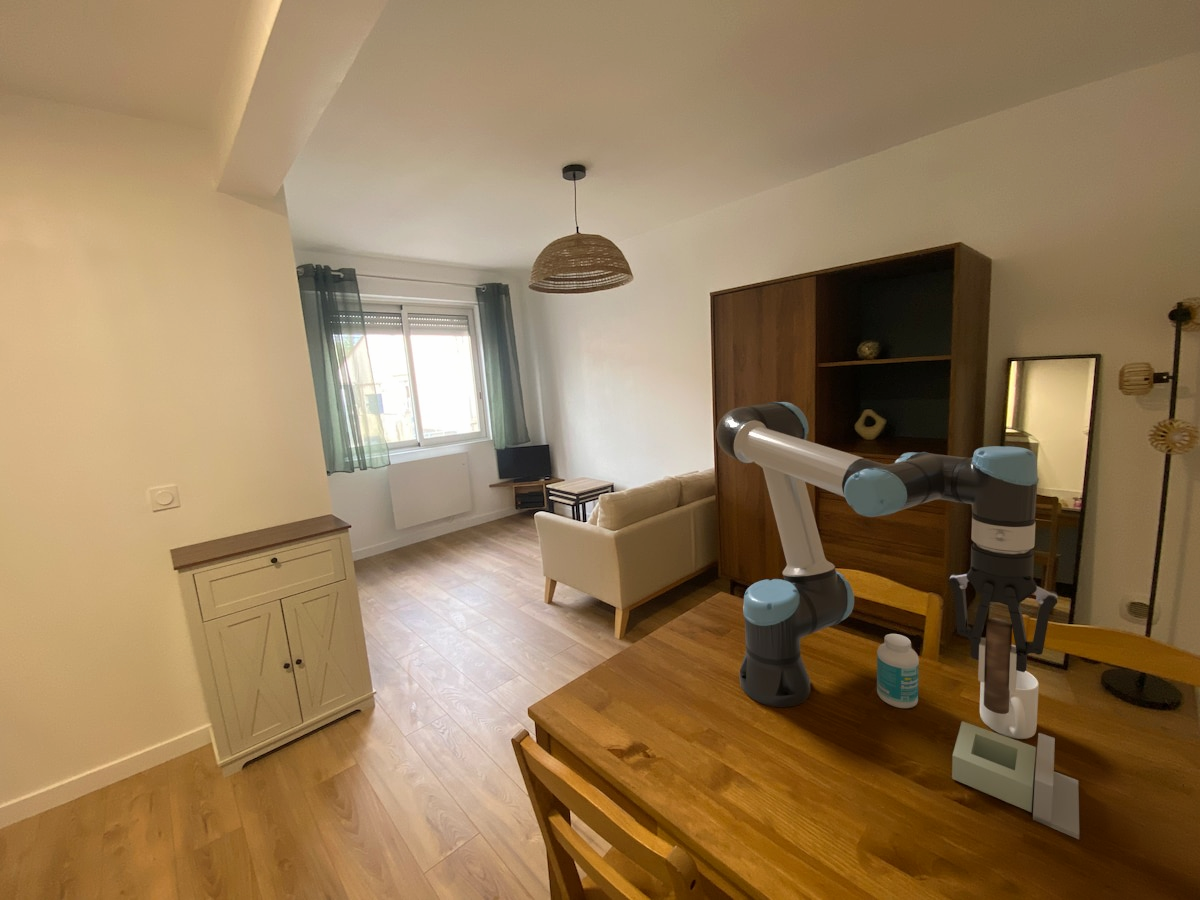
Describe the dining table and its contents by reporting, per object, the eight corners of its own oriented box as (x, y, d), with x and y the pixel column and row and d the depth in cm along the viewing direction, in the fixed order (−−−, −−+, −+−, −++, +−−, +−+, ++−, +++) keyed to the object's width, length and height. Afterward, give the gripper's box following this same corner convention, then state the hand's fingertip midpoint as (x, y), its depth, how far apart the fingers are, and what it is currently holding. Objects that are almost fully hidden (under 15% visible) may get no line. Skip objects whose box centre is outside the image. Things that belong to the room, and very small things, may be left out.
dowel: (982, 708, 78) (985, 624, 76) (984, 697, 81) (987, 615, 78) (1008, 716, 76) (1011, 630, 74) (1009, 705, 78) (1013, 621, 76)
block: (951, 778, 80) (952, 755, 80) (961, 742, 87) (961, 721, 87) (1031, 812, 73) (1032, 787, 73) (1034, 770, 80) (1036, 747, 80)
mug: (1050, 761, 82) (1053, 708, 81) (990, 747, 86) (991, 696, 85) (1028, 715, 93) (1030, 667, 91) (975, 705, 97) (976, 658, 95)
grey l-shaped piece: (1032, 819, 73) (1034, 779, 72) (1036, 769, 81) (1038, 732, 80) (1079, 839, 69) (1081, 797, 68) (1077, 784, 77) (1080, 746, 76)
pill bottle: (907, 715, 95) (907, 654, 93) (870, 696, 102) (869, 638, 100) (925, 699, 99) (925, 640, 97) (888, 682, 106) (888, 626, 104)
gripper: (934, 544, 77) (932, 675, 81) (1075, 564, 66) (1066, 716, 69) (943, 530, 82) (941, 654, 86) (1074, 547, 71) (1066, 689, 75)
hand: (997, 681), depth 78 cm, fingers closed on dowel, 3 cm apart
